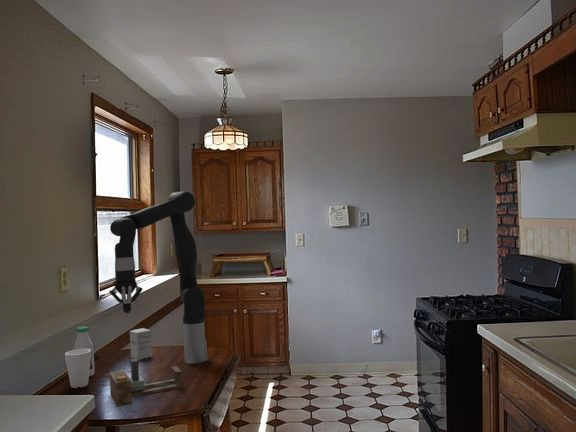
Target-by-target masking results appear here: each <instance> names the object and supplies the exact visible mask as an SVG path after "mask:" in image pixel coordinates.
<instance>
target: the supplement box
mask: <svg viewBox="0 0 576 432" xmlns="http://www.w3.org/2000/svg"><path fill="white" fill-rule="evenodd" d="M129 340H130V341H129V343H130V359H137V360H138V361H140V360H144V358H145V359H149V358H152V357H153V349H152V331H151V329H148V328H145V327H143V328H142V327H141V328H138V329H132V330H129ZM148 357H149V358H148Z"/></svg>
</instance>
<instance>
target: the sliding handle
mask: <svg viewBox="0 0 576 432" xmlns="http://www.w3.org/2000/svg"><path fill="white" fill-rule="evenodd" d="M139 370H140V369H139V360H137V359H135V358H130V376H131V377H129V378H130V380H131V392H133V391H138V390H143V389H144V387H143V386H144V385H145V380H144V379H143V377H142V376H141V375H140V373H139Z"/></svg>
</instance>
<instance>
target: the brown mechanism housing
mask: <svg viewBox="0 0 576 432" xmlns="http://www.w3.org/2000/svg"><path fill="white" fill-rule="evenodd" d="M170 371H171V373H170V374H171V379H169V380H161V381H157V382H152V383H147V384H144V386H143V387H144V389H143V390H138V391H133V392H131V380H130V377H129V375H128V374H127V372H126V371H125V369H121V370H116V371H111V372H109V385H110V386H109V387H110V388H109V389H110V391H109V392H110V396H111V398H112V400H113V402H114V404H115V407H116V408H117V407H118V408H119V407H122V406H128V405H132V404H133V398H135V397H139V396H144V395H149V394H150V395H151V394H155V393H160V392H167V391H170V390H175V389H176V390H177V389H180V388H183V371H182V370H181V369H180V368H179V367H178V366H177V365H175V366H170ZM120 376H125V377H126V380H124V381H119V382H118V377H120Z"/></svg>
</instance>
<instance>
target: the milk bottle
mask: <svg viewBox="0 0 576 432" xmlns="http://www.w3.org/2000/svg"><path fill="white" fill-rule="evenodd" d="M89 331H90V329H89V327H88V326H79V327H77V328H76V334H77V336H76V340H75V343H74V345H73V350H77V349H90V350H91V358H90V369H89V377H92V376H94V375H95V358H94V357H95V355H94V354H95V353H94V345H93V342H92V339H91V338H90V336H89Z"/></svg>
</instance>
